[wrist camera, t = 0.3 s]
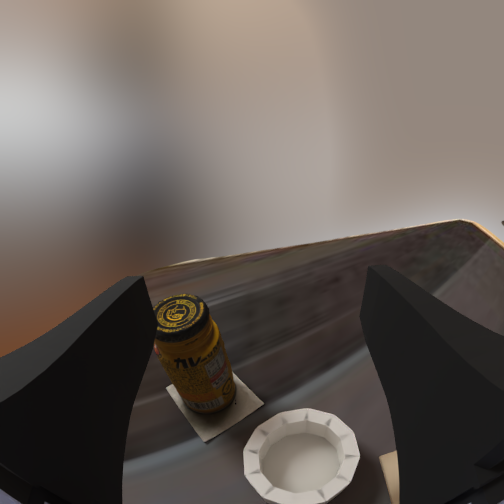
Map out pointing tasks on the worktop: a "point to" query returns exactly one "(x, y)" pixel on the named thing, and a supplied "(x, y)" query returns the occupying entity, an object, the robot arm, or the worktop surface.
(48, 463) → the robot arm
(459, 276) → the worktop surface
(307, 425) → the bowl
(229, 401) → the condiment
